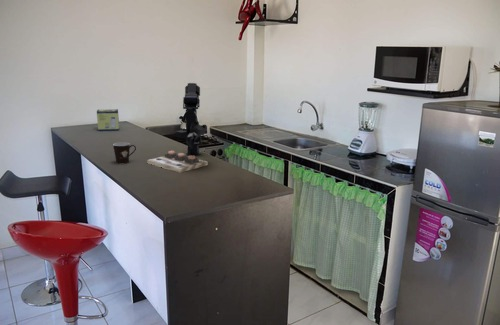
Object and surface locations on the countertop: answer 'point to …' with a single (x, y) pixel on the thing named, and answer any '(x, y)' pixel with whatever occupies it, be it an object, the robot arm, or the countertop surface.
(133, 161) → the countertop surface
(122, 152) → the coffee mug
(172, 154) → the button
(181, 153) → the middle button
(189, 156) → the button
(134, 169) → the countertop surface
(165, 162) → the button board
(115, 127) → the protein box
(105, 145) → the countertop surface
